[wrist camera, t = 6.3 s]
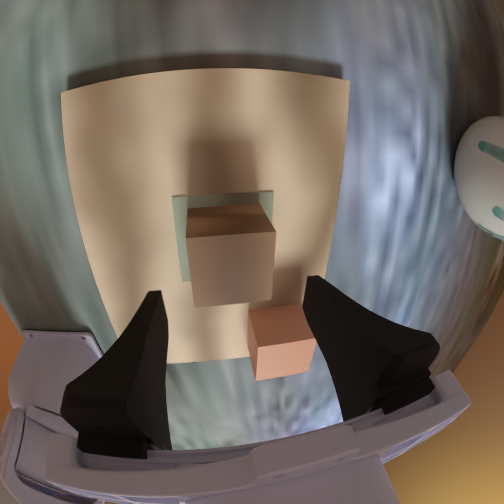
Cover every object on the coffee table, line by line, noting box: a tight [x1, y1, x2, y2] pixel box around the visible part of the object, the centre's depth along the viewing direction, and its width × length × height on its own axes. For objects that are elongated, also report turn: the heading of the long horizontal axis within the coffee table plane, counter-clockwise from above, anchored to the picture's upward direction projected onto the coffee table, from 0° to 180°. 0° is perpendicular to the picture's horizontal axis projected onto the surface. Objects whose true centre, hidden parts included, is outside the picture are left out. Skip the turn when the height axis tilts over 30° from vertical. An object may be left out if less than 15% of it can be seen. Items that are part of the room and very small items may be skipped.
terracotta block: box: [247, 304, 317, 381], centre depth 22 cm, size 5×5×4 cm
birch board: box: [61, 68, 350, 364], centre depth 19 cm, size 18×24×1 cm
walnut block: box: [186, 204, 276, 308], centre depth 17 cm, size 5×5×4 cm
